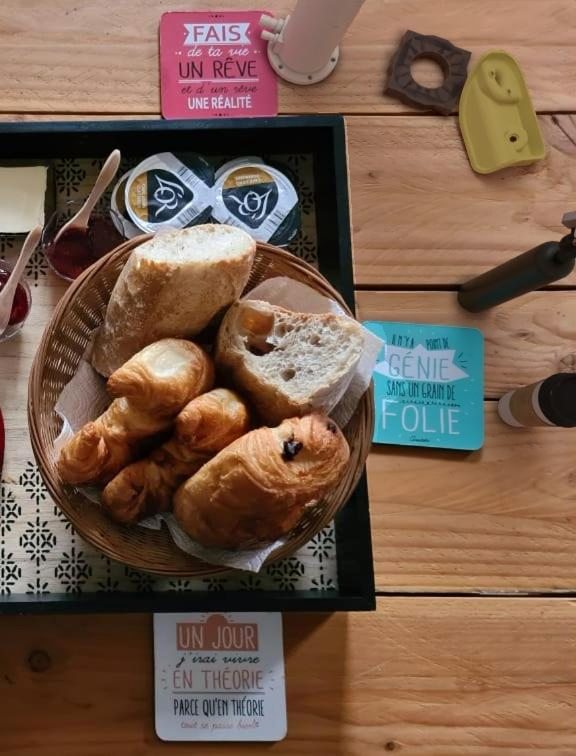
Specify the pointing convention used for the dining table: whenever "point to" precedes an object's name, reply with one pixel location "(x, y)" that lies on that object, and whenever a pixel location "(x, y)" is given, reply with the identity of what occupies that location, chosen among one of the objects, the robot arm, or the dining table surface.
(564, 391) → the coffee cup
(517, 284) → the wine bottle
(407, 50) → the brown square ring
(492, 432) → the dining table surface
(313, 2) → the robot arm
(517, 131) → the plastic component
